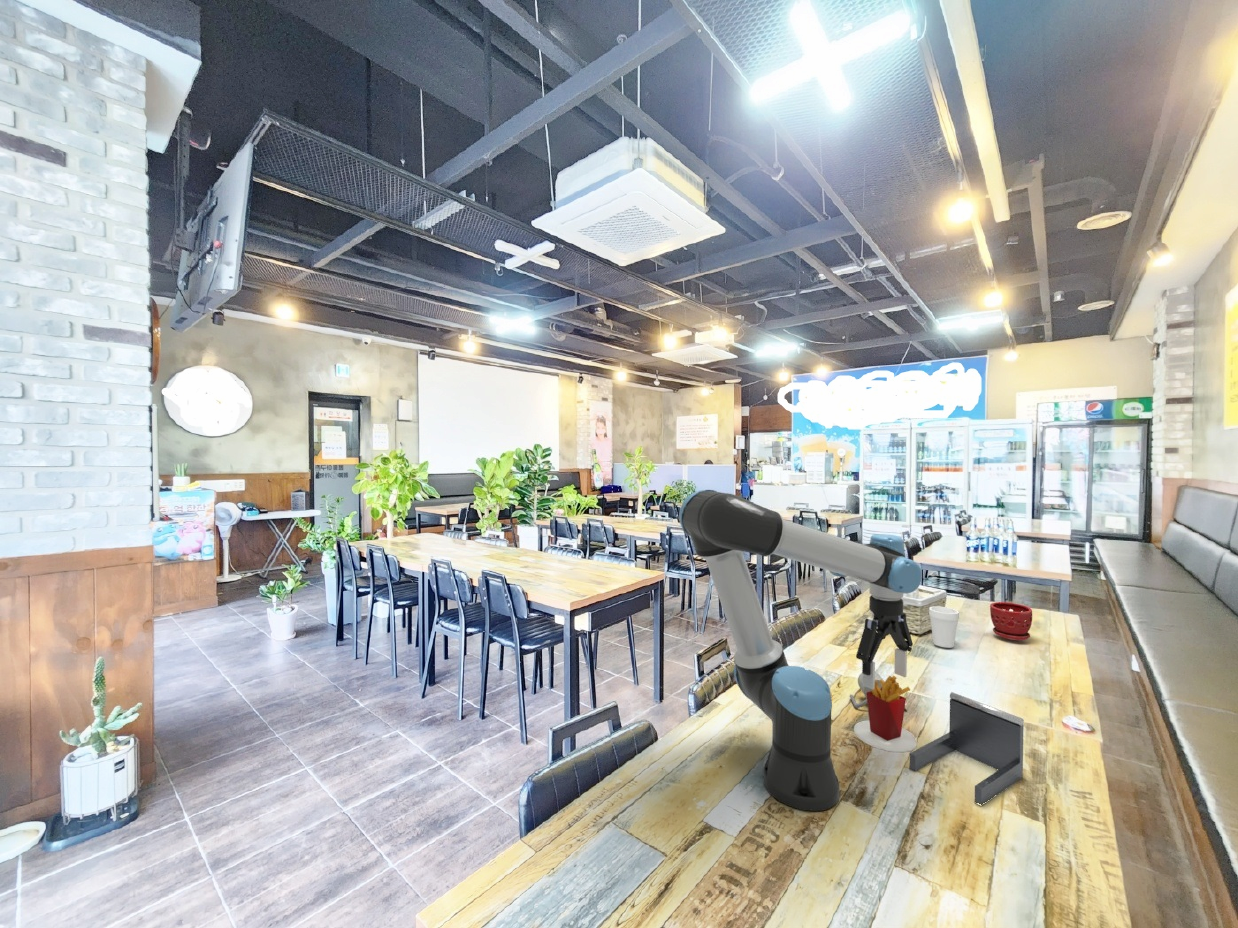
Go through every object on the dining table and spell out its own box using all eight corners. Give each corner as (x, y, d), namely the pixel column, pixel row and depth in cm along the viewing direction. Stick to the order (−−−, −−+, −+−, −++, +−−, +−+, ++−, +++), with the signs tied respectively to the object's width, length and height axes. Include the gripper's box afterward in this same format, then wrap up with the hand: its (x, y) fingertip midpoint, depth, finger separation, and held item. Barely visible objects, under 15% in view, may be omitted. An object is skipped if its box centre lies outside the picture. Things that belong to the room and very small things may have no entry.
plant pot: (989, 628, 209) (990, 599, 209) (1030, 635, 201) (1031, 605, 201) (989, 637, 199) (990, 607, 198) (1033, 645, 191) (1033, 613, 191)
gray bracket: (981, 808, 103) (982, 741, 103) (909, 770, 115) (910, 710, 115) (1022, 778, 112) (1023, 717, 112) (952, 746, 125) (953, 691, 124)
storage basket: (920, 636, 200) (920, 599, 200) (879, 625, 213) (879, 590, 213) (948, 625, 213) (948, 590, 213) (908, 615, 227) (908, 582, 227)
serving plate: (895, 760, 119) (895, 757, 119) (842, 732, 131) (842, 729, 131) (928, 743, 126) (928, 739, 126) (875, 717, 138) (875, 715, 138)
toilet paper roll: (910, 715, 139) (881, 678, 141) (877, 736, 141) (848, 699, 142) (897, 698, 149) (870, 663, 151) (866, 717, 151) (840, 683, 153)
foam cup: (958, 643, 193) (958, 608, 193) (958, 650, 185) (959, 615, 185) (929, 638, 198) (929, 604, 198) (928, 645, 190) (928, 611, 190)
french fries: (864, 730, 130) (865, 672, 130) (886, 723, 134) (887, 666, 134) (896, 748, 123) (896, 686, 122) (918, 740, 126) (919, 680, 126)
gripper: (870, 608, 118) (868, 698, 119) (928, 593, 131) (927, 675, 131) (841, 600, 125) (840, 686, 125) (900, 587, 137) (898, 665, 138)
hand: (884, 681), depth 128 cm, fingers open, 13 cm apart
